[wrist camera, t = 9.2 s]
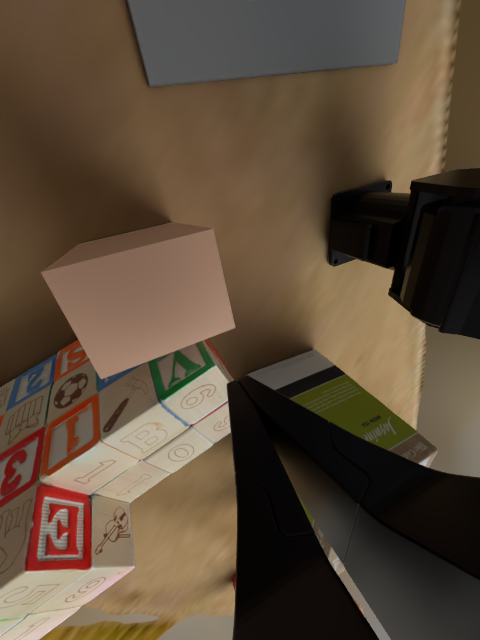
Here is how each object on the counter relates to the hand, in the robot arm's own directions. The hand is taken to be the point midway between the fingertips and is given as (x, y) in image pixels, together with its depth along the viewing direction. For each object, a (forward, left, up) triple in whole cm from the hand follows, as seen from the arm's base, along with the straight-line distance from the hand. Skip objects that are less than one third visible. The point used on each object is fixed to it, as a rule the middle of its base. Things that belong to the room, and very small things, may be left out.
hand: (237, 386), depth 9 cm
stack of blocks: (+10, +6, -12) cm, 17 cm away
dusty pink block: (+2, -2, -12) cm, 12 cm away
